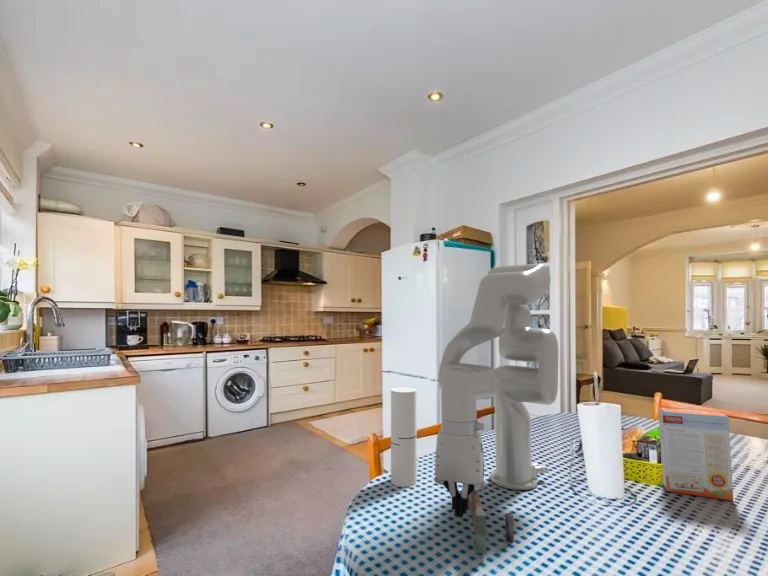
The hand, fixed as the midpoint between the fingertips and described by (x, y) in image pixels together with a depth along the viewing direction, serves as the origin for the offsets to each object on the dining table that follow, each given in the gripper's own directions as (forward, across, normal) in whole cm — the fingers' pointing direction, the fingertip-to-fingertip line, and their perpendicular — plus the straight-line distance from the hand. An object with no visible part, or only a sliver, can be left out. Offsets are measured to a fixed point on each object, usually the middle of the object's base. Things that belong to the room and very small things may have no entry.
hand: (459, 513), depth 85 cm
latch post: (+4, -10, 0) cm, 11 cm away
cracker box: (+4, -55, -40) cm, 68 cm away
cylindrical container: (+4, +18, -20) cm, 28 cm away
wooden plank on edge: (+3, -3, -1) cm, 4 cm away
